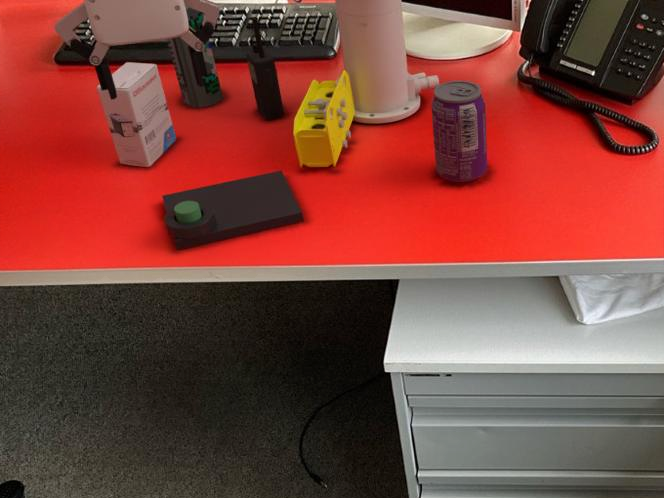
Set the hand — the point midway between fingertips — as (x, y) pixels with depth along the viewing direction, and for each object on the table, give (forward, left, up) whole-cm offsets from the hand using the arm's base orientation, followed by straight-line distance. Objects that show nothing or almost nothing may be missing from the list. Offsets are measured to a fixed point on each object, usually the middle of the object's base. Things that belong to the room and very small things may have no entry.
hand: (157, 88), depth 103 cm
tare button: (+1, +3, -15) cm, 16 cm away
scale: (-5, 0, -18) cm, 19 cm away
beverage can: (-36, +3, -18) cm, 40 cm away
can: (-7, -37, -18) cm, 42 cm away
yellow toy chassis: (-22, -13, -18) cm, 31 cm away
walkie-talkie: (-16, -27, -18) cm, 37 cm away
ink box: (+3, -22, -18) cm, 29 cm away
